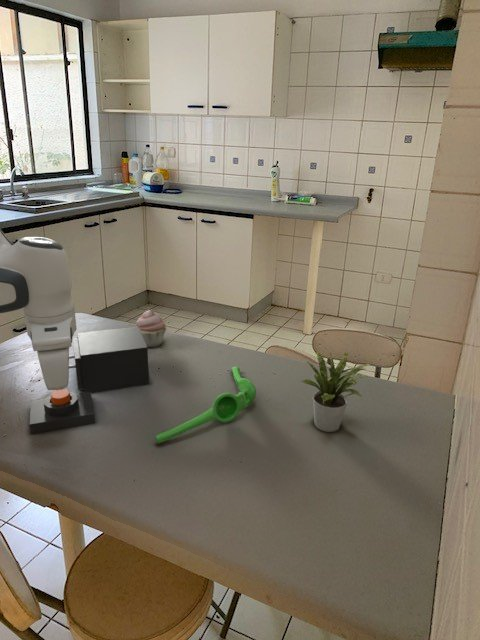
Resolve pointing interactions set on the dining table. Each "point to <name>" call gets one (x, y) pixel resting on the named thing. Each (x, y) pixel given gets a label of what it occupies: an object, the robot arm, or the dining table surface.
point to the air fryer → (113, 359)
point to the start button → (60, 397)
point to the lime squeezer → (218, 408)
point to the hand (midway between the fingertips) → (59, 386)
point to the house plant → (332, 392)
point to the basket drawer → (77, 363)
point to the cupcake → (151, 328)
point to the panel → (61, 413)
